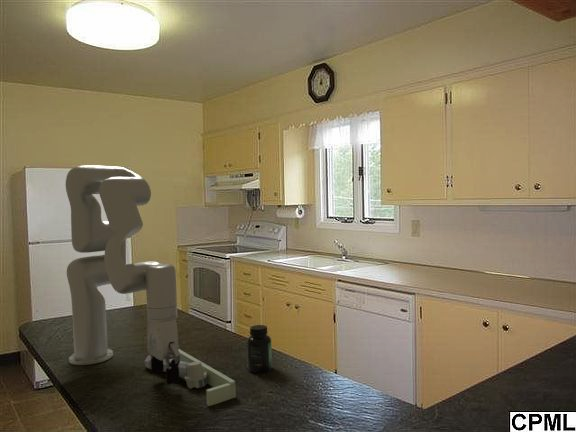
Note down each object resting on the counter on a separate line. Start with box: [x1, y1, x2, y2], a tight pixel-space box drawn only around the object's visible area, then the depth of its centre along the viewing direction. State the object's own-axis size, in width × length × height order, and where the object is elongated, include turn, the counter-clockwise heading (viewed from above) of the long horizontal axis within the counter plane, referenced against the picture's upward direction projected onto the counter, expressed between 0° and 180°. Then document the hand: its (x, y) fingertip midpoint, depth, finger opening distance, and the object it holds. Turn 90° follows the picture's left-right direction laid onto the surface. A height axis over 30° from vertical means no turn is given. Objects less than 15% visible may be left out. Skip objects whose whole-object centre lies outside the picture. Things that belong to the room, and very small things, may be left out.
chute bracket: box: [167, 348, 237, 407], centre depth 123 cm, size 36×7×4 cm, turn 38°
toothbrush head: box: [142, 354, 207, 389], centre depth 125 cm, size 5×7×25 cm
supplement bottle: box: [246, 324, 273, 374], centre depth 129 cm, size 7×7×12 cm
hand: (165, 377), depth 119 cm, fingers open, 9 cm apart
